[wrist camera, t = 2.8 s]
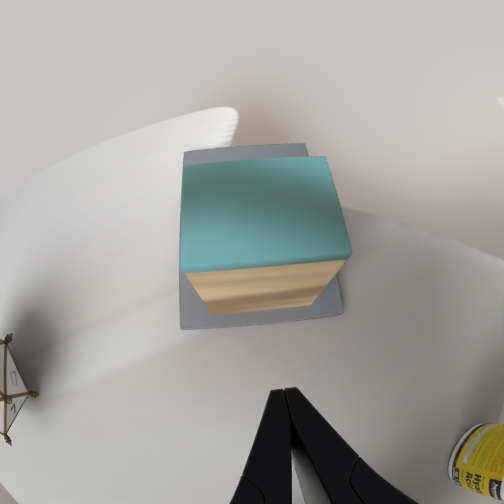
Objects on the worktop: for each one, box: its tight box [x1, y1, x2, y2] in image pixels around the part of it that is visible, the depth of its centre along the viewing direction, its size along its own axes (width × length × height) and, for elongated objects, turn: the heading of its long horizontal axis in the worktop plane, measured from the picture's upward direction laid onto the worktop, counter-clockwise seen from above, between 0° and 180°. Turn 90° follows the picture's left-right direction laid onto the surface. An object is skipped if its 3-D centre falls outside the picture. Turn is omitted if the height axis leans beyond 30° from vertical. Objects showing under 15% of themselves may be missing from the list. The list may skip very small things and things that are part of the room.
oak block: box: [180, 156, 352, 314], centre depth 14 cm, size 4×6×8 cm
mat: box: [179, 143, 343, 330], centre depth 20 cm, size 14×10×1 cm
